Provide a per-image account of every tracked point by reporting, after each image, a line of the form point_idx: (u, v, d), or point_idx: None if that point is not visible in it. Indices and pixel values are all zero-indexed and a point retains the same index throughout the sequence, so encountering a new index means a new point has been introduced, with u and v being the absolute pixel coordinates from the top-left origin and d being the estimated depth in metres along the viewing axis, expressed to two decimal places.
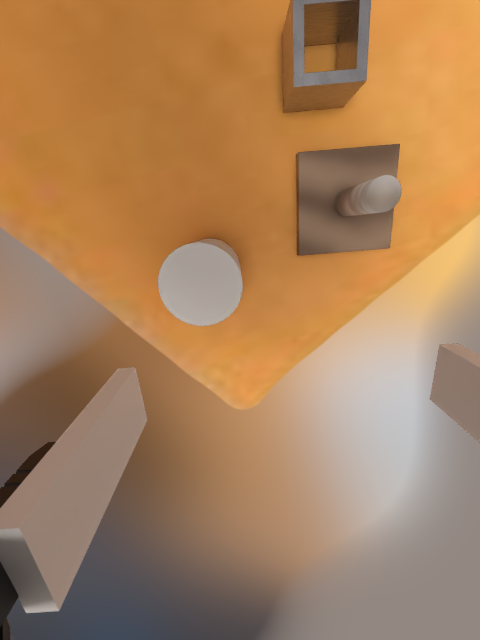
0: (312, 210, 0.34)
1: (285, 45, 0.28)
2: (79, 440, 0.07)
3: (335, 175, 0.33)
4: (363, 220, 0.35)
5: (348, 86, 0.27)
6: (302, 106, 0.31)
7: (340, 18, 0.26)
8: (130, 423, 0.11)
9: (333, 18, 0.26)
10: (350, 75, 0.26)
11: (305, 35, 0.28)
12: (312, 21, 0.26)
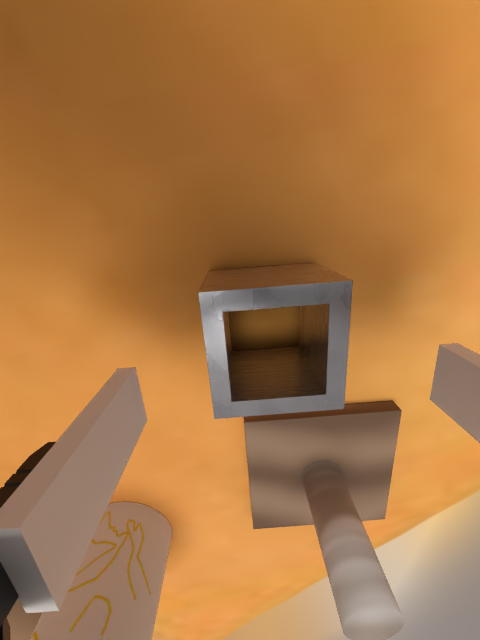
0: (269, 483, 0.23)
1: None
2: (79, 440, 0.07)
3: (302, 446, 0.22)
4: None
5: None
6: None
7: None
8: (130, 423, 0.11)
9: None
10: (315, 402, 0.14)
11: None
12: None
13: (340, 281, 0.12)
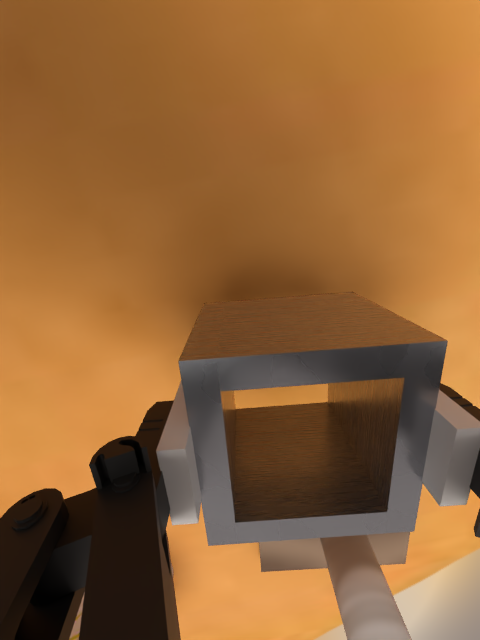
0: None
1: None
2: None
3: None
4: None
5: None
6: None
7: None
8: None
9: None
10: (369, 523, 0.09)
11: None
12: None
13: (425, 341, 0.07)
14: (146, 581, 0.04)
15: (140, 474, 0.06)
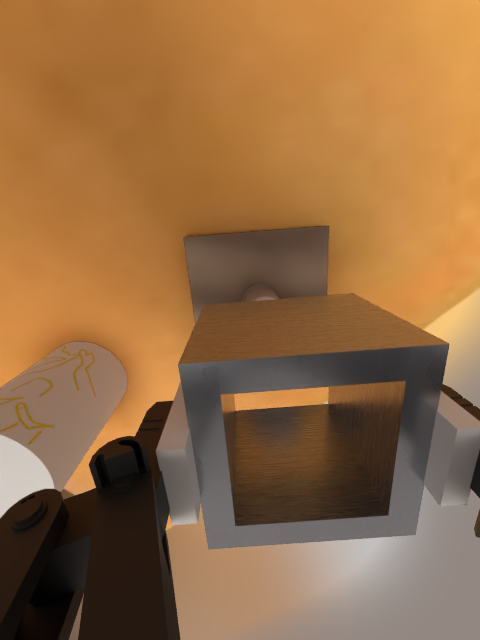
0: None
1: None
2: None
3: (239, 267, 0.23)
4: None
5: None
6: None
7: None
8: None
9: None
10: (370, 526, 0.09)
11: None
12: None
13: (426, 344, 0.07)
14: (146, 581, 0.04)
15: (140, 474, 0.06)
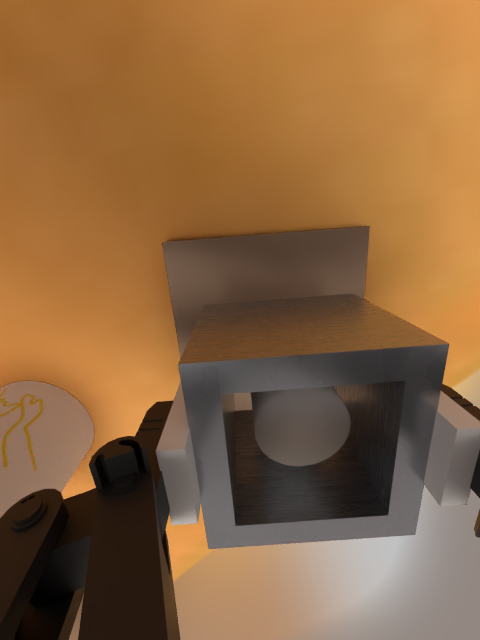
0: None
1: None
2: None
3: (242, 284, 0.16)
4: None
5: None
6: None
7: None
8: None
9: None
10: (370, 526, 0.09)
11: None
12: None
13: (426, 344, 0.07)
14: (146, 581, 0.04)
15: (140, 474, 0.06)
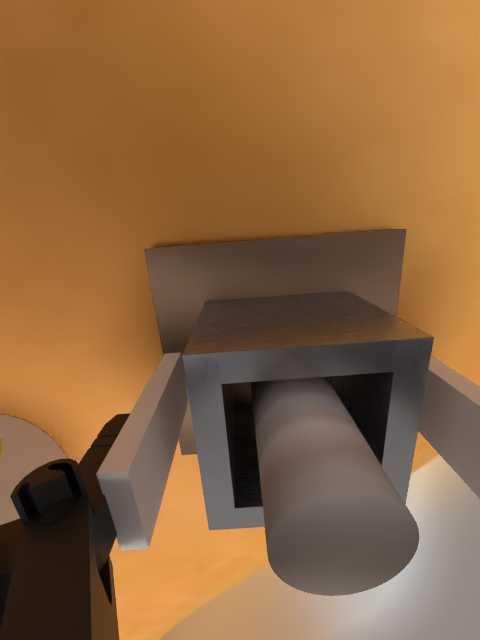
0: None
1: None
2: (152, 409, 0.09)
3: None
4: None
5: None
6: None
7: None
8: (179, 402, 0.12)
9: None
10: None
11: None
12: None
13: (412, 338, 0.08)
14: (72, 618, 0.04)
15: (74, 499, 0.06)
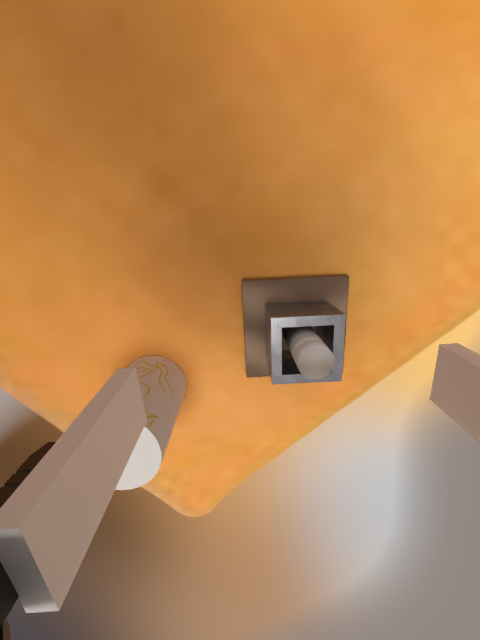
0: (258, 335, 0.32)
1: (266, 324, 0.29)
2: (79, 440, 0.07)
3: None
4: None
5: None
6: None
7: None
8: (130, 423, 0.11)
9: None
10: (326, 377, 0.27)
11: None
12: None
13: (339, 314, 0.25)
14: None
15: None
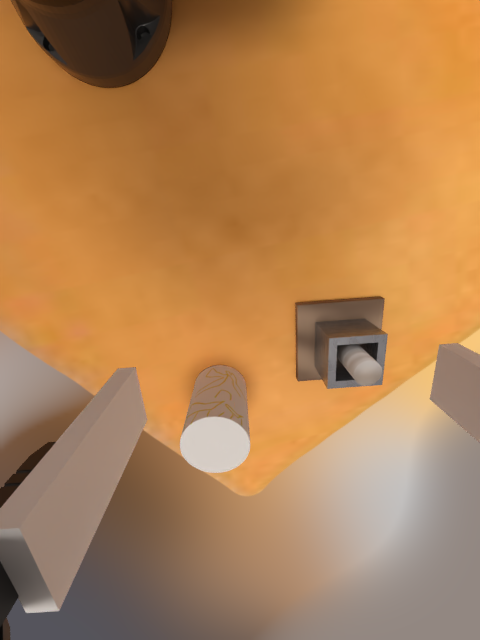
0: (309, 347, 0.39)
1: (319, 340, 0.37)
2: (79, 440, 0.07)
3: None
4: None
5: None
6: None
7: None
8: (130, 423, 0.11)
9: None
10: None
11: None
12: None
13: (382, 334, 0.32)
14: None
15: None
